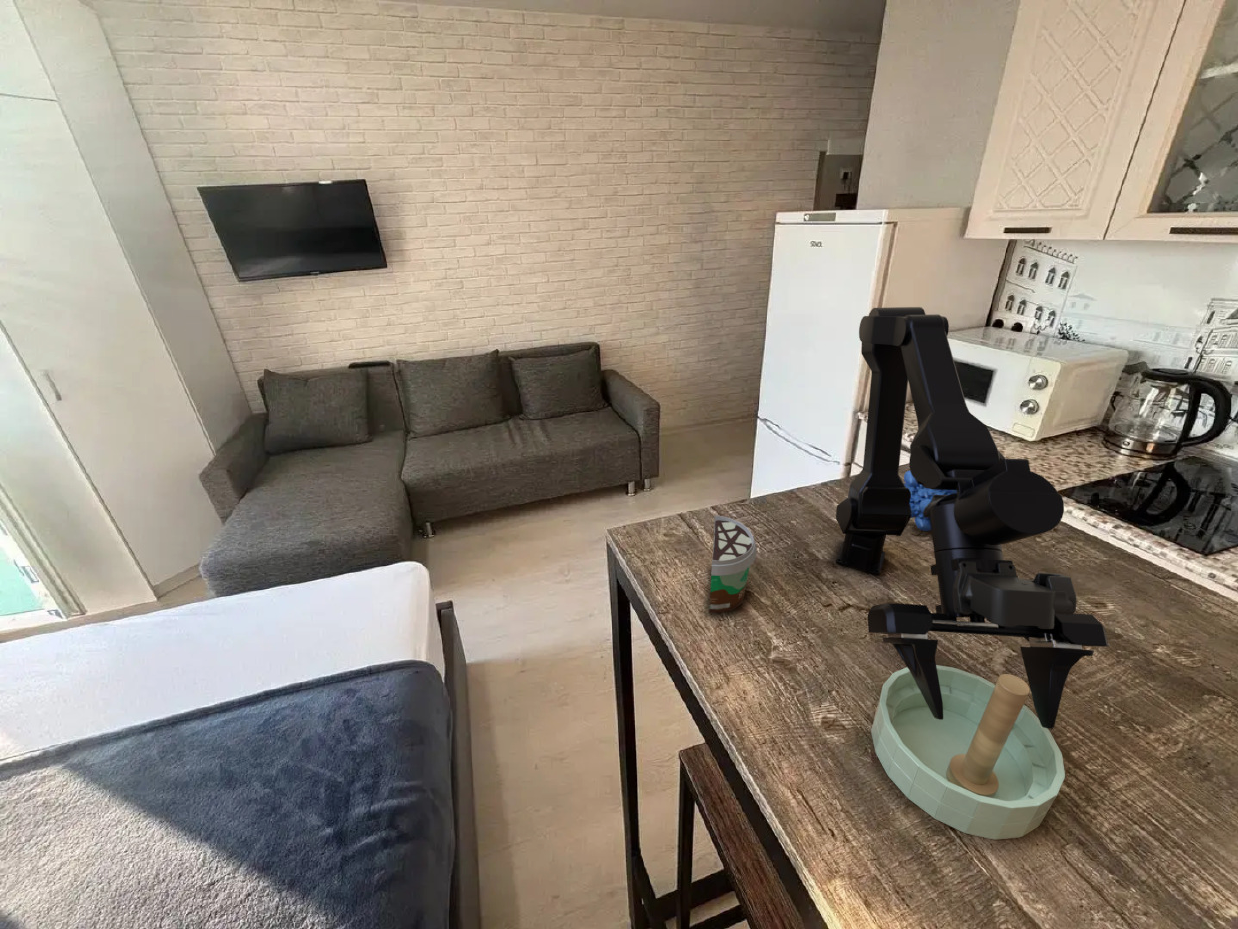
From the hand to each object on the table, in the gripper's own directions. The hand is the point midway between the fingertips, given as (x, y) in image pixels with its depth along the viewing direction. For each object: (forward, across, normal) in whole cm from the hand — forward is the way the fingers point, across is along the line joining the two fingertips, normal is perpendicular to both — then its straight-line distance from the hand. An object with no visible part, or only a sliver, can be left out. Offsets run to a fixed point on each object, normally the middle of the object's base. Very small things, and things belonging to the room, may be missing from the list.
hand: (992, 723), depth 47 cm
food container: (-12, -21, +25) cm, 35 cm away
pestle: (+6, 0, +6) cm, 8 cm away
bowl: (+5, 0, +8) cm, 9 cm away
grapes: (-25, +13, +38) cm, 47 cm away
